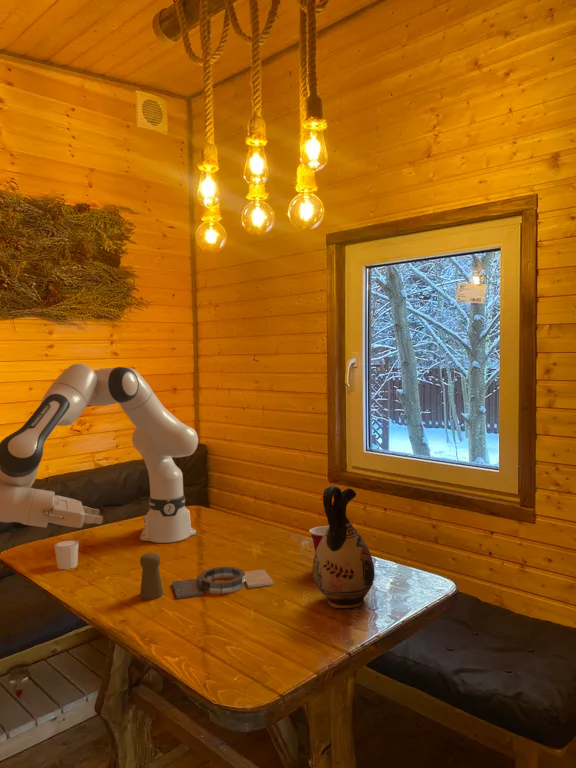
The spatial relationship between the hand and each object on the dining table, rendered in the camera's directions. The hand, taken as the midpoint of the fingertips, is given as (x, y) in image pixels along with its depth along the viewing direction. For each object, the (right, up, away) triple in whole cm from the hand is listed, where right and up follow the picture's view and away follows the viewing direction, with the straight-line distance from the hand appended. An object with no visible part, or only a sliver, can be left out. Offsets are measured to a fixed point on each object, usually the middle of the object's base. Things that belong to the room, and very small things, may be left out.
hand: (100, 516), depth 157 cm
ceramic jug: (+61, -21, -2) cm, 65 cm away
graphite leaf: (+26, -21, +11) cm, 35 cm away
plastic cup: (+59, -20, +21) cm, 66 cm away
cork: (+12, -22, +6) cm, 26 cm away
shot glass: (-19, -21, +29) cm, 40 cm away
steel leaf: (+33, -21, +13) cm, 41 cm away
